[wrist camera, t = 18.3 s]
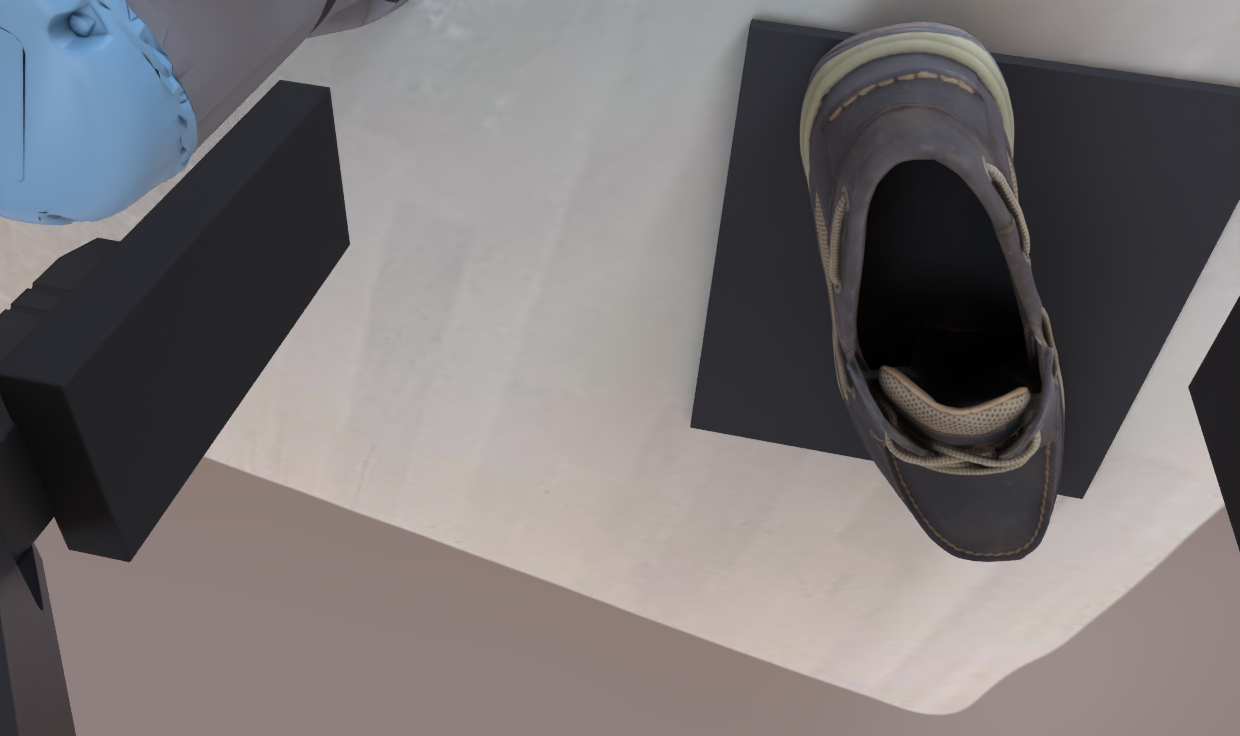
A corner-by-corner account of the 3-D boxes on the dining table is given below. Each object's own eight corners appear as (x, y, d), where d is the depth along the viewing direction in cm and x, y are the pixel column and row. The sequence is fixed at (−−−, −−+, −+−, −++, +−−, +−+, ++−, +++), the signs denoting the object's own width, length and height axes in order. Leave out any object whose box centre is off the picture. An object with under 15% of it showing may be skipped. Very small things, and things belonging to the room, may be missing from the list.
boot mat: (692, 418, 62) (690, 427, 61) (751, 18, 46) (749, 26, 45) (1080, 488, 59) (1082, 499, 59) (1285, 93, 43) (1290, 102, 43)
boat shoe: (890, 509, 62) (890, 664, 54) (724, 56, 46) (688, 181, 38) (1091, 483, 58) (1122, 648, 50) (984, -26, 42) (1005, 96, 34)
